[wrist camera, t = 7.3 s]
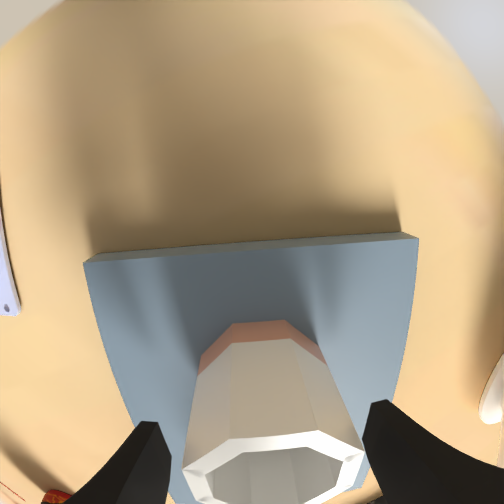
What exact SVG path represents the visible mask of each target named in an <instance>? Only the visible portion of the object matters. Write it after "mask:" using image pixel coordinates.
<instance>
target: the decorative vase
mask: <svg viewBox="0 0 504 504" xmlns="http://www.w3.org/2000/svg"><path fill="white" fill-rule="evenodd" d="M479 416H480V418H481V419H482V421H483V422H484V423H486V424H493V423H497V422H499V421H501V428H500V439H499V448H498V458H497V467H500V468H504V353H503V355H502V356H501V358H500V360H499V361H498V363H497V365H496V367H495V368H494V370H493V372H492V374H491V376H490V378H489V380H488V382H487V384H486V386H485V389H484V391H483V394H482V396H481V400H480V404H479Z"/></svg>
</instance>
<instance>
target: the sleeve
mask: <svg viewBox="0 0 504 504" xmlns="http://www.w3.org/2000/svg"><path fill="white" fill-rule="evenodd" d="M364 453H365V450H364V448H363V446H362V443H361V441H360V439H359V436H358V434H357V432H356V429H355V427H354V425H353V422H352V420H351V418H350V415H349V413H348V411H347V408H346V406H345V404H344V402H343V399H342V397H341V395H340V392H339V390H338V388H337V386H336V383H335V381H334V379H333V377H332V374H331V372H330V370H329V368H328V365H327V363H326V361H325V359H324V356H323V354H322V352H321V350H320V348H319V346H318V345H317V344H315V343H314V342H313V341H311V340H310V339H309V338H308V337H306V336H305V335H304V334H302V333H301V332H300V331H298V330H297V329H296V328H295V327H293V326H292V325H291V324H289V323H288V322H287V321H286V320H274V321H262V322H248V323H233V324H232V325H231V326H230V327H229V328H228V329H227V330H226V331H225V332H224V333H223V334H222V335H221V336H220V337H219V338H218V339H217V340H216V341H215V342H214V343H213V344H212V345H211V346H210V347H209V348H208V349H207V350H206V351H205V352H204V353H203V354H202V355H201V359H200V364H199V369H198V375H197V380H196V385H195V391H194V396H193V402H192V408H191V413H190V419H189V425H188V431H187V437H186V443H185V449H184V455H183V462H182V468H181V470H182V472H183V474H184V476H185V478H186V481H187V483H188V485H189V487H190V489H191V491H192V494H193V496H194V498H195V500H196V501H198V502H201V503H204V504H320V503H322V502H324V501H326V500H328V499H330V498H332V497H334V496H336V495H337V494H339V493H341V492H343V491H344V490H346V489H348V488H350V487H351V486H353V483H354V481H355V478H356V476H357V473H358V470H359V468H360V465H361V462H362V459H363V456H364Z"/></svg>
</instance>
